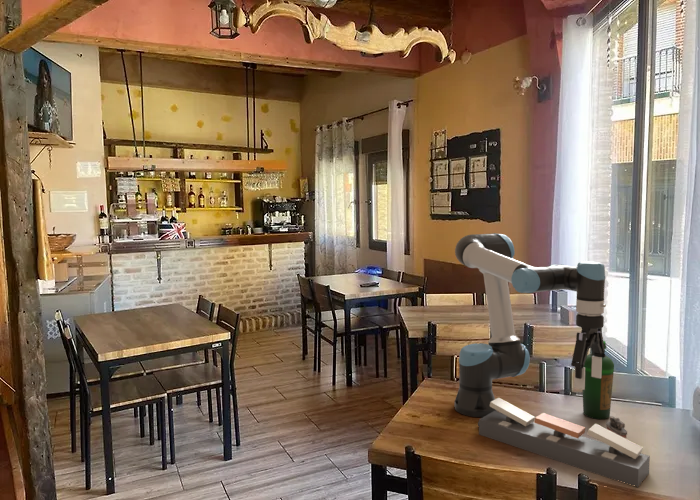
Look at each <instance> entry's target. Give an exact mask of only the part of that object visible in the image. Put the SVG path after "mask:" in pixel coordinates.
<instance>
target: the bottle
mask: <svg viewBox="0 0 700 500" xmlns="http://www.w3.org/2000/svg"><path fill="white" fill-rule="evenodd" d="M603 343H604V348H605V350H606V349H607V343H606V341H605V340H604V339H603ZM590 349H591V348H590ZM592 356H595V355H593V352H592V349H591V351H590V353H589V354H587V357H586V361H585V364H584V367H585V389H584V390H582V389H581V391H582V407H583V411H582V412H583V413H582V414H584V415H585V416H587V417H588V418H592V419H596V420H605V419H607V418H608V419H609V418H610V415H611V406H612V405H611V403H612V393H613V383H614V381H613V380H614V371H615V363H614V361H613V360H612V358H610V357H609V356H607V355H606V354H605V357H602V375H601V379H600V378H596V377H591V376H592Z"/></svg>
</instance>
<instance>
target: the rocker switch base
mask: <svg viewBox="0 0 700 500" xmlns="http://www.w3.org/2000/svg"><path fill="white" fill-rule="evenodd" d="M477 426H478V435H479V436H482V437H486V438H489V439H492V440H495V441H497V442H500V443H503V444H507V445H509V446H512V447H515V448H518V449H522V450H524V451H527V452H530V453H533V454H536V455H539V456H542V457H546V458H548V459H552V460H554V461H557V462H560V463H563V464H566V465H569V466H572V467H575V468H579V469H581V470H584V471H587V472H590V473H593V474H596V475H599V476H602V477H605V478H608V479H611V480H614V479H615V480H614V481H617V480H619V481H618V482H620V481H622V482H621V483H623V482H625V483H624V484H626V483H628V484H627V485H629V484H631V485H630V486H632V485H635V486H637V487H636V488H639V487H640V486H641V485H642V483H643V482H644V481H643V480H645V479H646V478H647V477H648V475H649V474H650V459H651V457H650V455H648V454H645V453H643V452H641V454H640V455H639V456H638V457H637V458H636V459H634V458H632V457H630V456H628V455H626V454H624V453H622V452H620V451H619V450H617V449H615V448H613V447H611V446H609V445H607V444H605V443H603V442H601V441H599V440H597V439H595V438H589V437H587V436H583V435H581V436H580V437H579V438H575V437H572V436H570V435H567V434H564V433H562V432H559V431H556V430H553V429H551V428H548V427H545V426H542V425H540V424H537V423H535V421H533V422H532V423H530V424H529V425H527V426H524V425H522V424H521V423H519V422H517V421H515V420H513V419H512V418H510V417H508V416H506V415H504V414H503V413H501V412H499V411H493V412H491V413H490V414H488V415H486V416H484V417H480V418H479V419H478V422H477ZM646 476H647V477H646ZM642 481H643V482H642ZM641 482H642V483H641ZM639 485H640V486H639ZM635 486H634V487H635ZM638 486H639V487H638Z"/></svg>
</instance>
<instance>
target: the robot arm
mask: <svg viewBox="0 0 700 500" xmlns="http://www.w3.org/2000/svg"><path fill="white" fill-rule="evenodd" d="M457 241H458V242H456V245H455V248H454V254H455V257H456V260H458V262H459V263H460V264H462V265H463V266H465V267H467V268H470V269H478V271H479V272H480V273H481V274H483V281H484V288H485V289H484V290H485V296H486V304H487V311H488V318H489V325H490V326H489V327H490V332H491V334H490V335H491V337H490V339H489V340H488V343H484V342H483V343H481V342H480V343H469V344H467V345H464V346H463V347H462V348H460V350H459V357H458V358H459V359H458V365H459V369H458V371H459V375H458V376H459V382H458V383H459V386H458V391H457V393H456V395H455V399H454V407H455V408H454V410H455V411H456V413H457V412H458V413H459V414H460V415H463V416H468V417H473V418H475V417H476V418H483V417H484V416H486V415H488V414H490V413H491V412H493V411H497V410H495V409H494V408H492V407H490V402H491V401H493V400H495V399H496V398H495V394H494V392H493V380H498V379H505V378H515V377H517V376H521V375H523V374H525V373H526V372H527V370H528V369H529V366H530V361H531V359H530V352H529V350H528V349H527V347H526V345H524V344H523V343H521V338H520V337H518V336H517V335H516V330H515V324H514V317H513V310H512V302H511V301H512V300H511V295H510V288H509V286H510V285H509V283H510V284H511V285H512V288H513V289H515V291H516V292H518V293H521V294H533V293H540V292H551V291H553V292H554V291H561V290H565V291H572V292H576V301H575V302H576V303H575V305H576V306H575V311H576V312H577V313H576V314H575V315H576V316H575V325H576V326H577V327H579V328H581V332H576V335H575V336H576V337H575V338H576V339H575V345H574V349H573V353H572V359H571V364H570V366H571V367H574V380H573V381H574V382H573V383H574V384H573V385H574V386H573V388H574V389H578V390H581V391H582V390H584V389H585V367H584V364H585V361H586V357H587V355H589V354H588V353H589V350H590V349H592V352H593V355H595V356H592V376H591V377H596V378H600V379H601V375H602V357H605V355H606V353H605V352H606V351H605V350H606V349H605V348H604V343H603V340H604V337H603V327H604V325H605V324H604V323H605V322H604V320H605V318H604V317H605V316H604V315H603V314H604V313H605V312H604V311H605V308H606V304H605V285H606V269H605V264H604V263H603V262H599V261H580V262H579V261H578V263H577V266H573V265H565V264H561V263H560V264H556V263H555V264H551V265H550V266H539V267H537V266H532V265H529V264H527V263H524V262H522V261H519V260H516V259H515V258H514V256H515V247H514V243H513V241H512V240H511V238H510V237H509V236H508V235H506V234H504V233H503V234H502V233H495V232H494V233H493V232H492V233H479V234H473V233H472V234H468V235H465V236H463V237H462V238H460V239H459V240H457ZM592 352H591V353H592ZM497 412H498V411H497Z"/></svg>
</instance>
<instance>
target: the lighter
mask: <svg viewBox="0 0 700 500" xmlns="http://www.w3.org/2000/svg"><path fill="white" fill-rule="evenodd" d="M605 425H606V429H608V430H610V431H612V432H614V433H616V434H618V435H620V436H622V437H623V438H625V439H627V435H628V430H627V429H625V427H626V425H625V422H623V421H621V420H620V418H619V417H616V416H610V417H609V421H606V423H605Z"/></svg>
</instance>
